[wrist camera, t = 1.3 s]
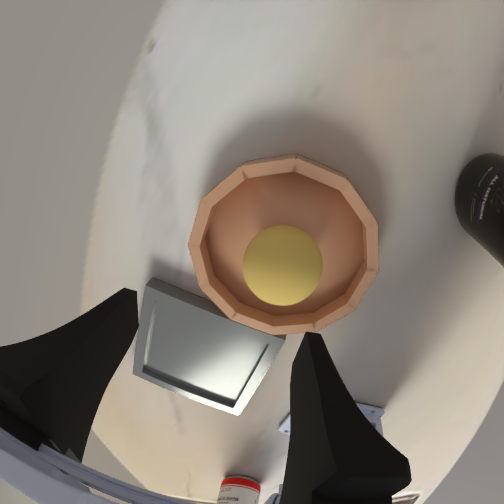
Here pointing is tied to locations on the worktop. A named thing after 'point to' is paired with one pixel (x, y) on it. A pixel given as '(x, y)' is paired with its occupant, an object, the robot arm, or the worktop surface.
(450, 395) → the worktop surface
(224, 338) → the tray
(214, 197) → the bowl
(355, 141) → the worktop surface
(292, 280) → the ball
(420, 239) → the worktop surface
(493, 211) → the supplement bottle
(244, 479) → the beer can
